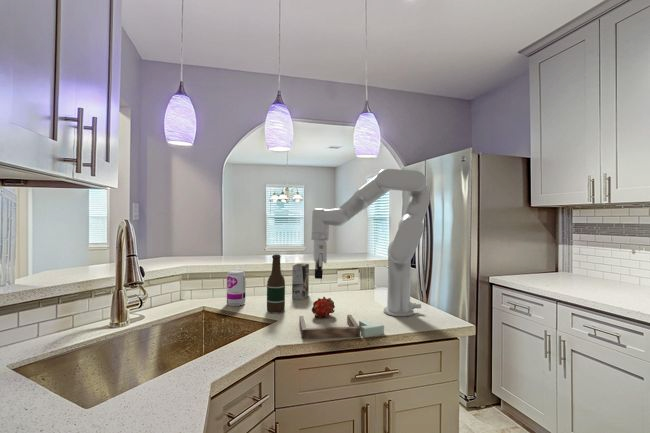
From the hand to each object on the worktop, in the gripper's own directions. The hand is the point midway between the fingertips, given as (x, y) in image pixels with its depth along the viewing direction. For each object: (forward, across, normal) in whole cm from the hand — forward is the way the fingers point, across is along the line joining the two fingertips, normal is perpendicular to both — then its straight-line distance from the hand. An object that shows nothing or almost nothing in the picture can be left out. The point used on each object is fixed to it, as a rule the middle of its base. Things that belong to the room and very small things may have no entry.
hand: (318, 278), depth 156 cm
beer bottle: (+14, -2, +18) cm, 23 cm away
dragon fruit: (+13, -12, -1) cm, 18 cm away
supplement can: (+14, +10, +36) cm, 40 cm away
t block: (+13, -31, -15) cm, 37 cm away
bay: (+13, -27, -1) cm, 30 cm away
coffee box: (+14, +21, +6) cm, 26 cm away
